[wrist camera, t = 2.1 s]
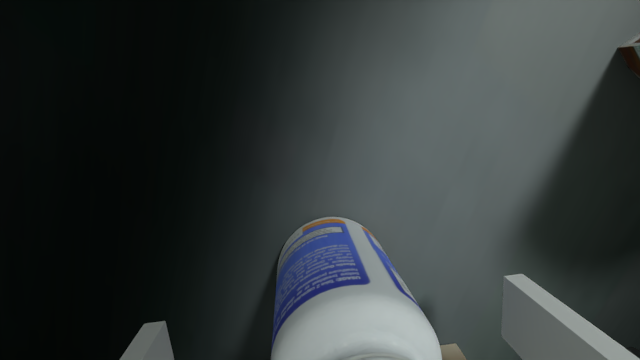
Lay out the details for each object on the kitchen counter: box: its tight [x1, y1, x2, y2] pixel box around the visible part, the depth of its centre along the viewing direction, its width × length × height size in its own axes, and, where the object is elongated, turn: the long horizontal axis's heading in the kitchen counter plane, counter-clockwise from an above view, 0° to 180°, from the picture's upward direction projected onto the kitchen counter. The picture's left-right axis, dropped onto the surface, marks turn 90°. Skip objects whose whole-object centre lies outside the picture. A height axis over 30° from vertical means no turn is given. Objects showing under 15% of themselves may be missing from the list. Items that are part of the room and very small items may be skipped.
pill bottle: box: [271, 217, 442, 360], centre depth 12 cm, size 5×5×10 cm
